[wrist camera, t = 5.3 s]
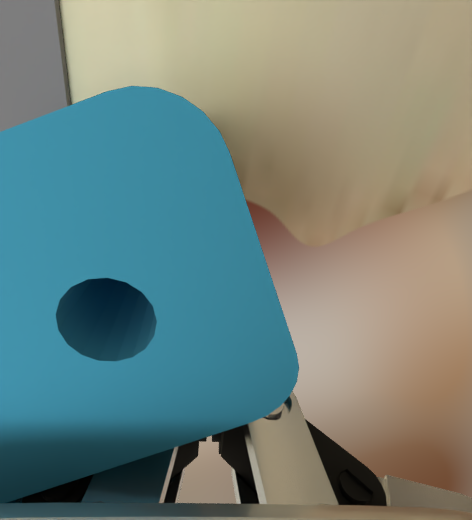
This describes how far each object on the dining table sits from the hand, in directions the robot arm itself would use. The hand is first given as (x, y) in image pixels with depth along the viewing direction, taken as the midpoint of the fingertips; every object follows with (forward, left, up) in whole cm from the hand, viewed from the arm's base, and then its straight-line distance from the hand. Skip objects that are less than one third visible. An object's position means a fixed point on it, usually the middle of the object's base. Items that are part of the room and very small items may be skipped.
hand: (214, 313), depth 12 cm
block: (+6, 0, -14) cm, 15 cm away
